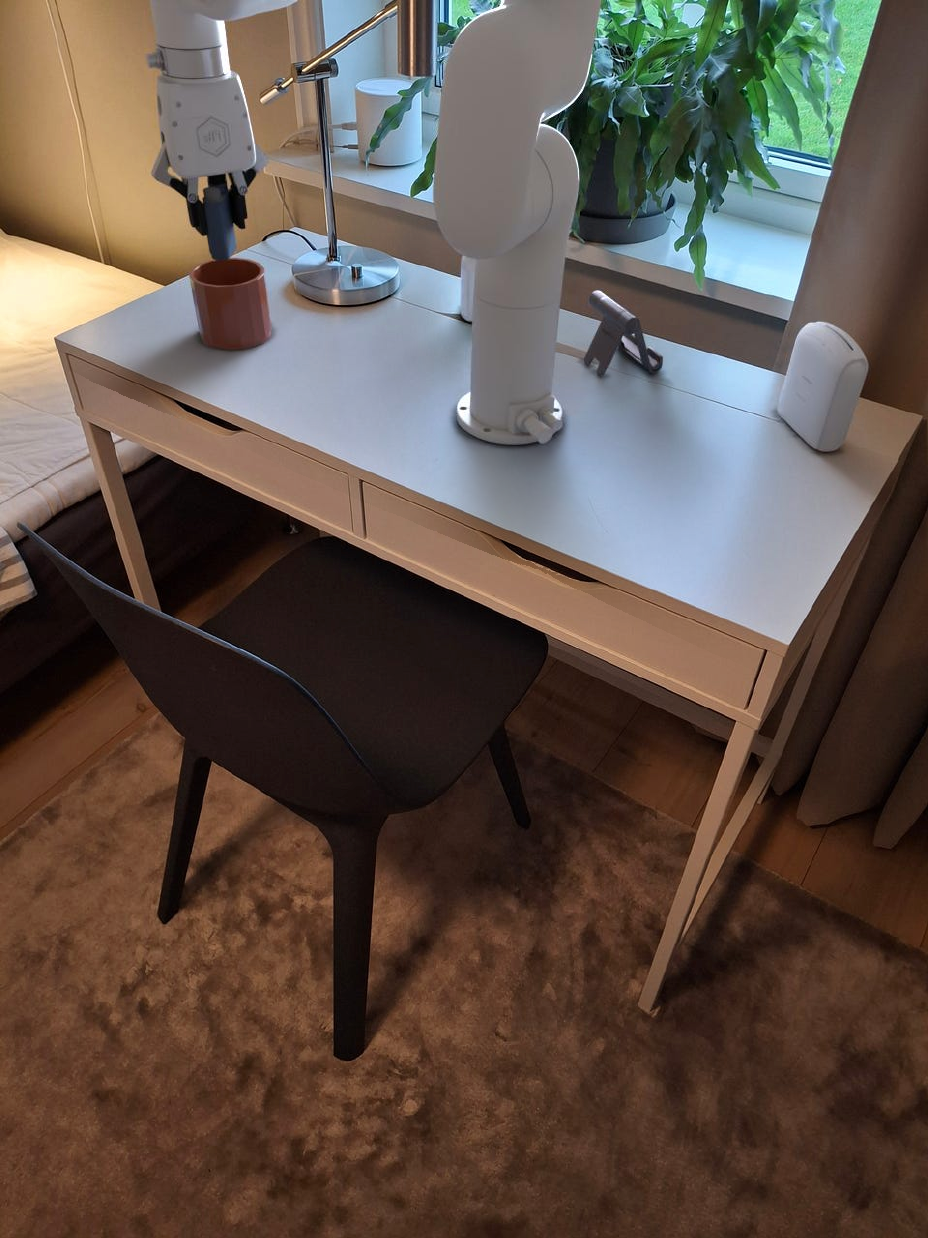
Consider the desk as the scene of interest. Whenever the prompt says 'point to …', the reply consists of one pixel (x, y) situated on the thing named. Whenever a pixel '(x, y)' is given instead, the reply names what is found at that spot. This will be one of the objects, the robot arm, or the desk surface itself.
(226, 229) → the vaping device
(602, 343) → the tablet stand
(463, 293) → the eye dropper bottle
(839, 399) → the photo printer
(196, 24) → the robot arm
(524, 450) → the desk surface
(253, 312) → the pen cup
